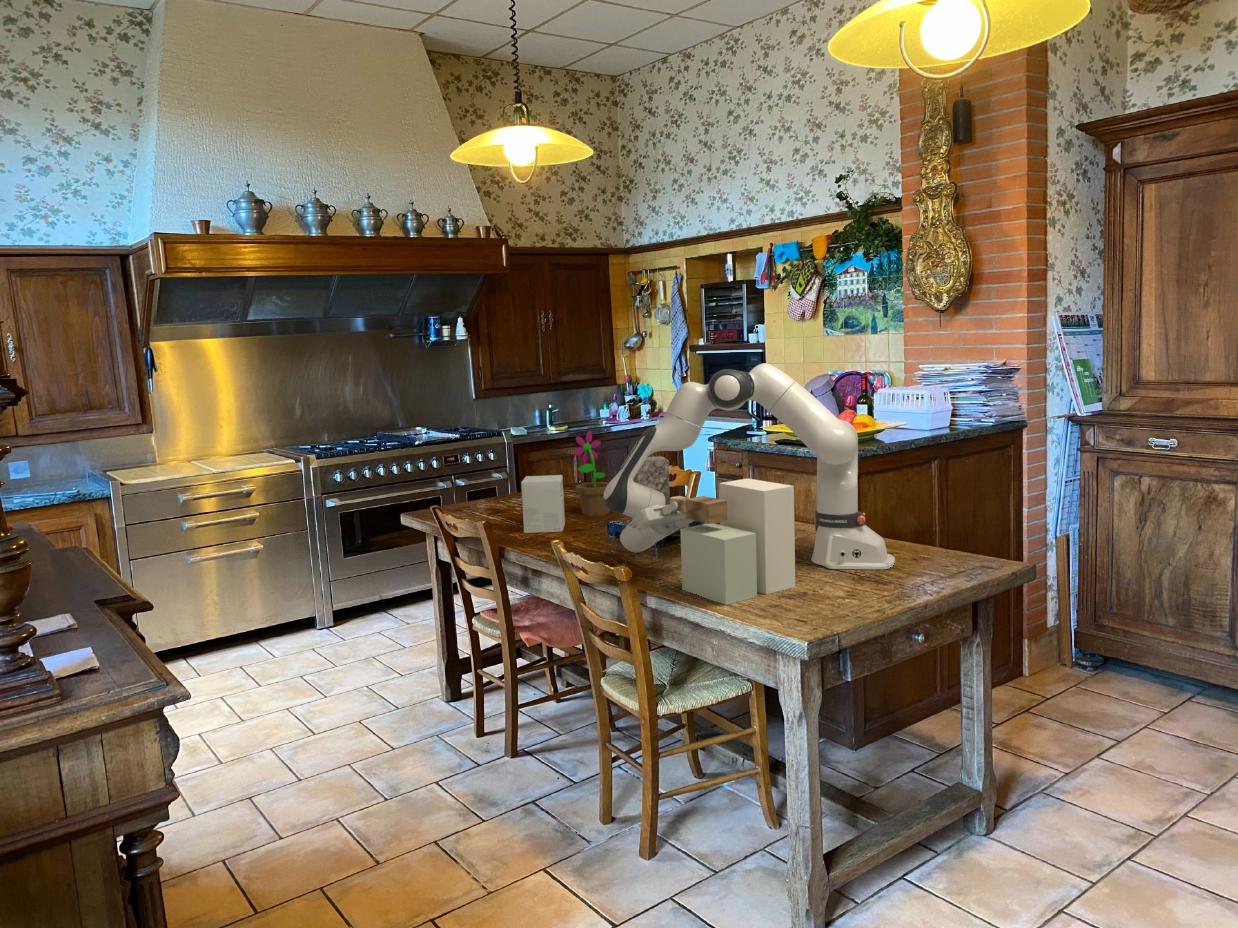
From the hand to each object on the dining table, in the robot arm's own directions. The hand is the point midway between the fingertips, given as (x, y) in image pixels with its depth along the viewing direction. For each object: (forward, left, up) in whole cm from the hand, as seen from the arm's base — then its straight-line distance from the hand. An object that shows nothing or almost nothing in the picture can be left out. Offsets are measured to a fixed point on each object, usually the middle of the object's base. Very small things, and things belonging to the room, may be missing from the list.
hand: (684, 502), depth 236 cm
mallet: (-3, +2, -3) cm, 5 cm away
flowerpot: (+61, -81, -22) cm, 104 cm away
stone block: (+41, -86, -22) cm, 98 cm away
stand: (-14, +2, -21) cm, 26 cm away
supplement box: (+68, -53, -22) cm, 89 cm away
